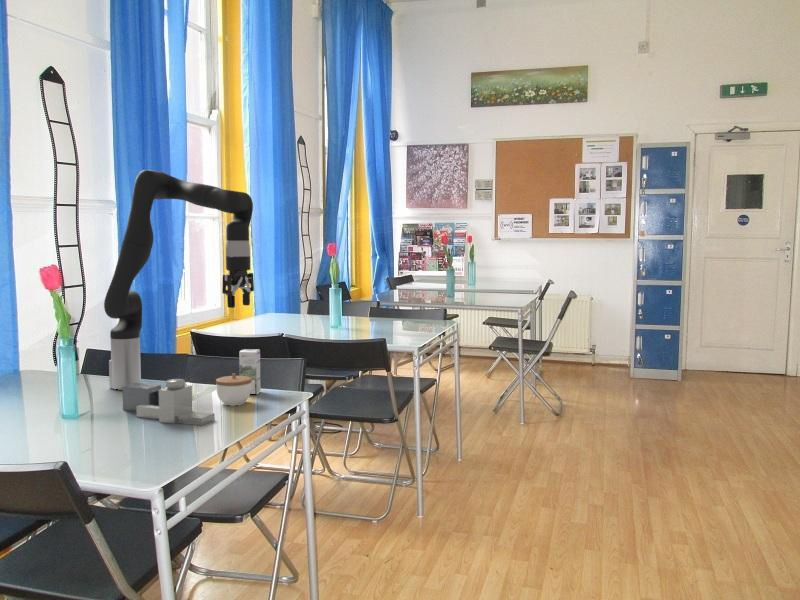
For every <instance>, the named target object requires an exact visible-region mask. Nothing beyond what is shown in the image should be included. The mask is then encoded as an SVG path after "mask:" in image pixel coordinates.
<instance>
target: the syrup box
mask: <svg viewBox="0 0 800 600" xmlns="http://www.w3.org/2000/svg"><path fill="white" fill-rule="evenodd" d="M238 352H239V353H238V354H239V355H238V358H239V376H248V377H251V378H252V382H251V393H250V394H257V393H258V392H259V391H260V390H261V389H262V388H261V350H260V349H259V348H258V349H256V348H255V349H253V348H252V349H250V348H244V349H241V350H239V351H238ZM260 392H261V391H260Z"/></svg>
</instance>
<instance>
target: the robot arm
mask: <svg viewBox="0 0 800 600" xmlns="http://www.w3.org/2000/svg"><path fill="white" fill-rule="evenodd" d="M155 200H159V201H160V200H180V201H185V202H188V203H190V204H193V205H196V206H198V207H199V206H200V207H203V208H208V209H212V210H217V211H220V212H223V213H226V214H227V213H228V214H232V219H231V221H230V222H228V223H227V224H226V229H225V232H226V233H225V235H226V236H225V237H226V239H225V241H226V243H225V269H226V271H229V273H227V274H222V287H221V288H222V289H221V290H222V291H221V292H222V294H223V295H226V296H227V299H226V300H227V302H226V303H227V308H228V309H230V308H231V309H233V308H236V296H235V295H236V291H238V290H239V289H240V290H241V292H242V305H243V306H250V304H251V293H252V292H254V291H255V283H254V273H253V272H248V271H250V270H251V245H250V226H251V225H250V224H251V222H252V221H251V220H252V215H253V211H254V203H253V200H252V198H251V195H250V194H248V193H247V192H244V191H236V190H232V189H231V190H229V189H224V188H220V187H219V186H214V185H210V184H203V183H199V182H198V183H196V182H191V181H186V180H183V179H179V178H177V177H174V176H172V175H170V174H168V173H165V172H163V171H160V170H153V169H143V170H141V171H140V172H139V173H138V175H137V176H136V178H135V181H134V185H133V193H132V199H131V205H130V211H129V215H128V220H127V224H126V229H125V232H124V235H123V238H122V242H121V246H120V251H119V255H118V259H117V262H116V266H115V270H114V273H113V276H112V279H111V281H110V284H109V287H108V289H107V292H106V295H105V298H104V302H103V307H104V311H105V314H106V316H108V318H110V319H113V320H114V319H115V320H117V319H118V322H117V324H116V325H115V327H113V328H111V330H110V332H109V333H110V335H109V337H110V338H109V339H110V359H109V360H108V373H109V374H108V375H109V376H108V377H109V378H108V379H109V380H108V381H109V389H110V388H111V389H113V390H116V389H118V390H117V391H121V390H122V387H123V386H127V385H131V384H134V383H142V377H141V375H142V372H141V371H142V370H141V368H142V367H141V341H140V340H141V338H140V336H141V330H142V327H143V302H142V298H141V296H140V294H139V293H138V292H137V291H136V290H132V289H131V288H132V285H133V282H134V280H135V278H136V277H137V276H138V275H139V273H140V272H141V270H142V269H143V268H144V266H145V265H146V264H147V262H148V260H149V258H150V255H151V252H152V247H153V246H154V233H153V232H154V231H153V227H152V222H151V212H152V211H151V210H152V207H153V203H154V201H155Z"/></svg>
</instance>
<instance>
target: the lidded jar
mask: <svg viewBox="0 0 800 600" xmlns="http://www.w3.org/2000/svg"><path fill="white" fill-rule="evenodd" d="M251 382H252V378H251V377H248V376H240V375H236V373H233V372H232V374H231V375H226V376H220V377H217V378H216V379H215V384H216V386H215V387H216V394H217V397H218V399H219V400H220V401H221V403H223V405H224V404H225V405H224V406H227V405H230V406H229V407H236V406H235V405H238V406H242V404H243V405H244V404H245V402H247V401H248V399H249V398H250V396H251V395H250V393H251Z"/></svg>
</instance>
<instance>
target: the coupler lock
mask: <svg viewBox="0 0 800 600" xmlns="http://www.w3.org/2000/svg"><path fill="white" fill-rule="evenodd" d="M160 389H162V385H161V384H155V383H154V384H153V383H143V382H141V383H134V384H131V385H127V386H123V387H122V391H121V393H122V410H123V411H129V412H137V407H136V406H139V405H142V404H143V405H153V406H159V390H160Z"/></svg>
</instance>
